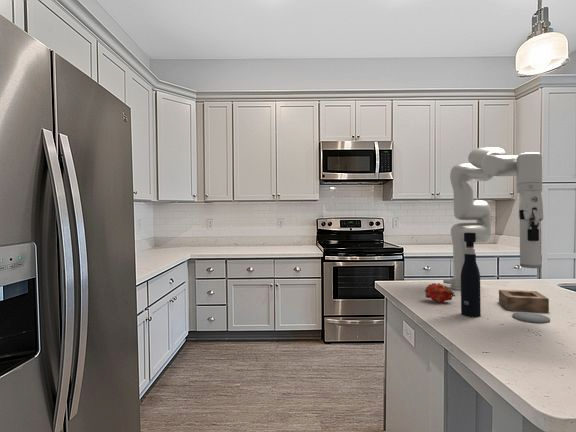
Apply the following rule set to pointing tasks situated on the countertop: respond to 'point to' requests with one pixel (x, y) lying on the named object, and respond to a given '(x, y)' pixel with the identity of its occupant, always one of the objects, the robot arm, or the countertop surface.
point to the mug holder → (523, 300)
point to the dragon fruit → (438, 293)
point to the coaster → (531, 317)
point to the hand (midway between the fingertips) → (529, 239)
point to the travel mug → (529, 245)
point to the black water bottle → (470, 280)
